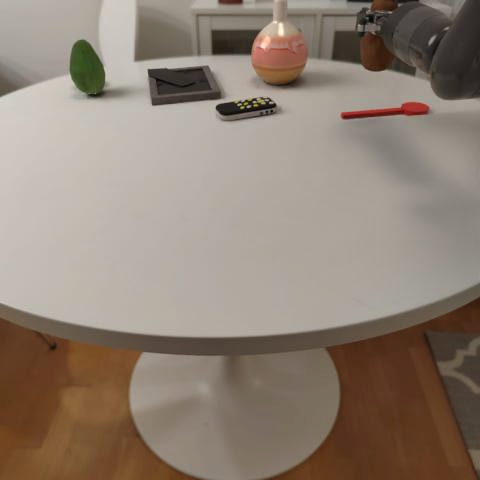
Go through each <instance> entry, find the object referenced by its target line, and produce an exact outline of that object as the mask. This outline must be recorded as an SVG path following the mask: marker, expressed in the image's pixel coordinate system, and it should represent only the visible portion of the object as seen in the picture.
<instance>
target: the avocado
mask: <svg viewBox="0 0 480 480" xmlns="http://www.w3.org/2000/svg"><path fill="white" fill-rule="evenodd" d="M70 51H71V52H70V58H69V69H68V70H69V74H70V78H71V81H72V82H73V83H74V86H75V87H76V89H78V90H79V91H80V92H82V93H84V94H87V93H90V94H95V93H99V92H100V93H102V91H103V90H104V88H105V86H106V71H105V68H104V67H105V66H104V64H103V62H102V61H101V59H100V57H99V55H98V54H97V53H96V51H95V49H94V47H93V46H92V44H91V43H90V42H89V41H87V40H86V39H84V38H82V39H78V40H76V41H75V42H74V43H73V45H72V47H71V50H70ZM100 93H99V94H100ZM90 94H89V95H90Z"/></svg>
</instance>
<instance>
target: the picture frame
mask: <svg viewBox="0 0 480 480" xmlns="http://www.w3.org/2000/svg"><path fill="white" fill-rule="evenodd" d="M146 71H147V76H148V85H149V93H150V101H151V105H152V106H159V105H158V104H160V105H168V104H169V105H171V104H178V102H180V103H187V101H190V102H197V101H198V102H201V101H208V99H210V100H218V99H222V91H221V89H220V86H219V84H218V82H217V80H216V78H215V75H214V74H213V72H212V70H211V68H210V65H197V66H187V67H175V68H168V67H161V68H147V69H146Z"/></svg>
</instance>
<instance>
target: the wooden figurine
mask: <svg viewBox="0 0 480 480" xmlns="http://www.w3.org/2000/svg"><path fill="white" fill-rule="evenodd" d="M397 7H399V2H398V0H373V1H372V2H371V5H370V8H369V9H371V10H373V11H376V10H386V11H393V10H395V9H396V8H397ZM372 23H373V22H372ZM359 55H360V61H361V65H362V68H364V69H365V70H366V71H369V72H372V73H378V72H379V73H380V72H384V71H386V70H387V69H389V68H390V66H391V65H392V64H393V61H394V59H395V57H396V56H395V55H393V54H392V53H391V52H389V51H388V49H387V48H386V46H385V44H384V41H383V38H382V37H381V36H377V35H375V34H372V32H371V31H367V35H365V36H364V37H360V45H359Z"/></svg>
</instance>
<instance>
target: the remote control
mask: <svg viewBox="0 0 480 480" xmlns="http://www.w3.org/2000/svg"><path fill="white" fill-rule="evenodd" d="M277 106H278V105H277V103H276V102H275V101H274V100H273V99H272V98H270V97H268V96H267V95H264V96H259V97H253V98H247V99H241V100H235V101H228V102H221V103H218V104H216V105H215V114H216V115H217V116H218V117H219V118H220V119H221V120H222V121H224V122H225V121H227V122H228V121H233V120H239V119H247V118H251V117H252V118H253V117H258V116H265V115H270V114H274V113H276V111H277Z"/></svg>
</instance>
